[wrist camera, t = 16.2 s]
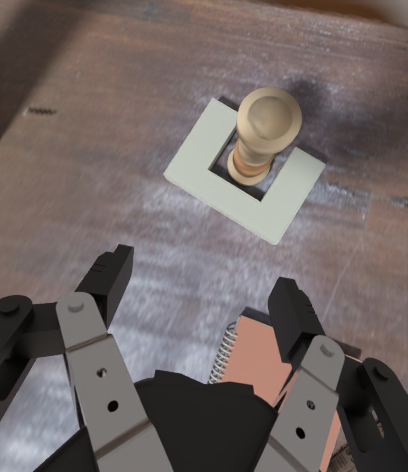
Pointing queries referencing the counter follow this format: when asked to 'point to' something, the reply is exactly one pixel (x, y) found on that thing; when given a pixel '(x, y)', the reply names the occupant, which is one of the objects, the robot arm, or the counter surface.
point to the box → (345, 459)
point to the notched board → (230, 197)
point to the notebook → (261, 368)
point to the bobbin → (262, 133)
